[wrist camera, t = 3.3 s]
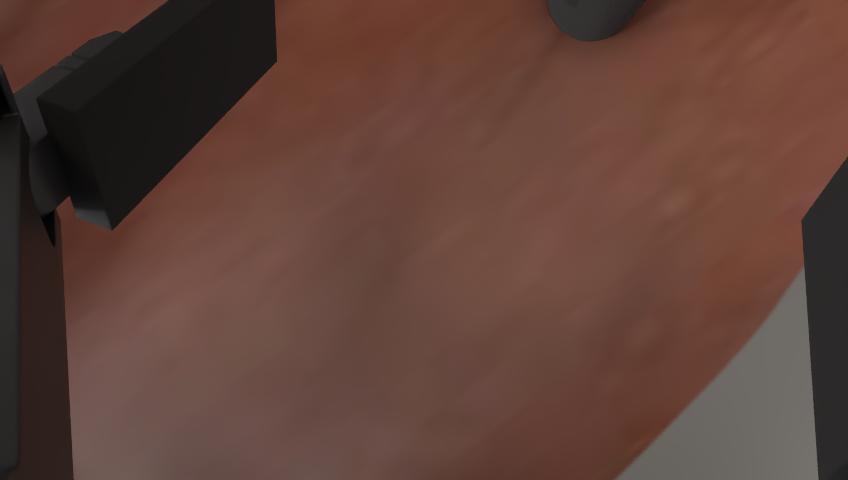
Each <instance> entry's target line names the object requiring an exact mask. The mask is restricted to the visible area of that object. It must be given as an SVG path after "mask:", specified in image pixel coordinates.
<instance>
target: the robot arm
mask: <svg viewBox="0 0 848 480" xmlns="http://www.w3.org/2000/svg"><path fill="white" fill-rule="evenodd" d="M276 62H277V49H276V27H275V4H274V0H169V1H167V2H166V3H165V4H163V5H162V6H160V7H159V8H158V9H156V10H155V11H154V12H152V13H151V14H150V15H148V16H147V17H145V18H144V19H143V20H141V21H140V22H139V23H137V24H136V25H135V26H133V27H132V28H131V29H129V30H128V31H126V32H125V33H121V32H117V31H114V32H111V33H108V34H105V35H102V36H100V37H97V38H94V39H91V40H89V41H88V42H87V43H85V44H84V45H82V46H81V47H79V48H78V49H77V50H75V51H74V52H72V56H69V55H68V56H67V57H65V58H64V59H63V60H61V61H60V62H58V63H57V66H56V67H55V66H53V67H51V68H50V69H48V70H47V71H46V72H44V73H43V74H41V75H40V76H39V77H37V78H36V79H34V80H33V81H32V82H30V83H29V84H27V85H26V86H24V87H23V88H22V89H20V90H19V91H17V92H16V93H15V94H13V93H12V91H11V88H10V85H9V83H8V80H7V77H6V75H5V72H4V70H3V67H2V65H0V480H74V479H73V459H72V439H71V419H70V399H69V379H68V360H67V340H66V320H65V300H64V280H63V260H62V240H61V221H60V218H59V215H58V213H57V210H56V207H57V206H59V205H60V204H61V203H62V202H63V201H64V200H65V199H66V198H67V197H68V196H69V195H70V198H71V201H72V204H73V206H74V209H75V212H76V215H77V218H79V219H82V220H85V221H87V222H90V223H93V224H96V225H99V226H101V227H104V228H107V229H110V230H113V229H114V228H115V227H116V226H117V225H118V224H119V223H120V222H121V221H122V220H123V219H124V218H125V217H126V216H127V215H128V214H129V213H130V212H131V211H132V210H133V209H134V208H135V207H136V206H137V205H138V204H139V203H140V202H141V200H142V199H143V198H144V197H145V196H146V195H147V194H148V193H149V192H150V191H151V190H152V189H153V188H154V187H155V186H156V185H157V184H158V183H159V182H160V181H161V180H162V179H163V178H164V177H165V176H166V175H167V174H168V173H169V172H170V171H171V170H172V169H173V168H174V167H175V166H176V164H177V163H178V162H179V161H180V160H181V159H182V158H183V157H184V156H185V155H186V154H187V153H188V152H189V151H190V150H191V149H192V148H193V147H194V146H195V145H196V144H197V143H198V142H199V141H200V140H201V139H202V138H203V137H204V136H205V135H206V134H207V133H208V132H209V131H210V130H211V128H212V127H213V126H214V125H215V124H216V123H217V122H218V121H219V120H220V119H221V118H222V117H223V116H224V115H225V114H226V113H227V112H228V111H229V110H230V109H231V108H232V107H233V106H234V105H235V104H236V103H237V102H238V101H239V100H240V99H241V98H242V97H243V96H244V95H245V94H246V92H247V91H248V90H249V89H250V88H251V87H252V86H253V85H254V84H255V83H256V82H257V81H258V80H259V79H260V78H261V77H262V76H263V75H264V74H265V73H266V72H267V71H268V70H269V69H270V68H271V67H272V66H273V65H274V64H275V63H276ZM801 221H802V236H803V251H804V266H805V281H806V296H807V310H808V325H809V341H810V356H811V371H812V385H813V401H814V415H815V431H816V446H817V461H818V476H819V480H848V157H847V158H846V160H845V161H844V162H843V164H842V165H841V167H840V168H839V169H838V171H837V172H836V173H835V175H834V176H833V178H832V179H831V180H830V182H829V183H828V185H827V186H826V187H825V189H824V190H823V191H822V193H821V194H820V196H819V197H818V198H817V200H816V201H815V202H814V204H813V205H812V207H811V208H810V209H809V211H808V212H807V214H806V215H805V216H804V218H803V219H802V220H801Z"/></svg>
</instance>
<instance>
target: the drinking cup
mask: <svg viewBox="0 0 848 480" xmlns="http://www.w3.org/2000/svg"><path fill="white" fill-rule="evenodd" d="M547 1H548V7H549V11H550V14H551V17H552V19H553V21H554V22H555V24H556V25H557V26H558V27H559V28H560V29H561V30H562V31H563V32H564V33H566V34H567V35H569V36H571V37H573V38H575V39H579V40H583V41H597V40H602V39H605V38H608V37H610V36H612V35H614V34H616V33H617V32H619V31H620V30H621V29H622V28H623V27H624V26H625V25H626V24H627V23H628V22H629V20H630V19H631V18H632V17H633V15H634V14H635V13H636V12H637V10H638V9H639V8H640V7H641V5H642V4H643V3H644V2H645V0H547Z"/></svg>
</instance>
